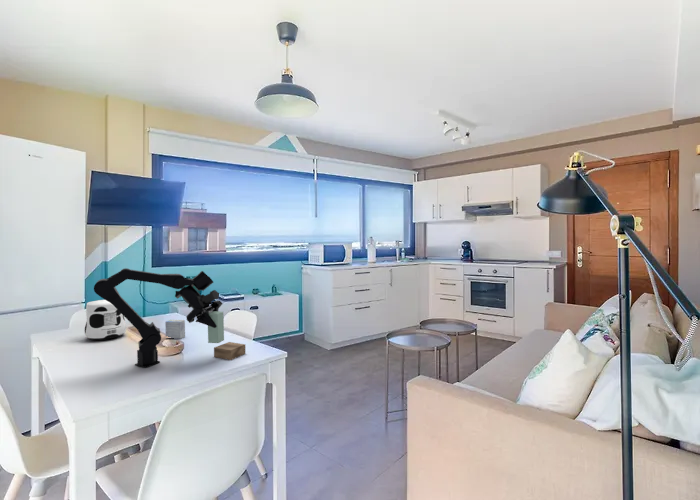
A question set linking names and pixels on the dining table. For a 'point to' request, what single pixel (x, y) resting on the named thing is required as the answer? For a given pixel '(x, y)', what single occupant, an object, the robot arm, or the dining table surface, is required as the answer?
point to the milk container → (103, 321)
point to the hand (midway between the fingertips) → (219, 325)
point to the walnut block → (229, 350)
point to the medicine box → (175, 328)
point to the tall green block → (216, 333)
